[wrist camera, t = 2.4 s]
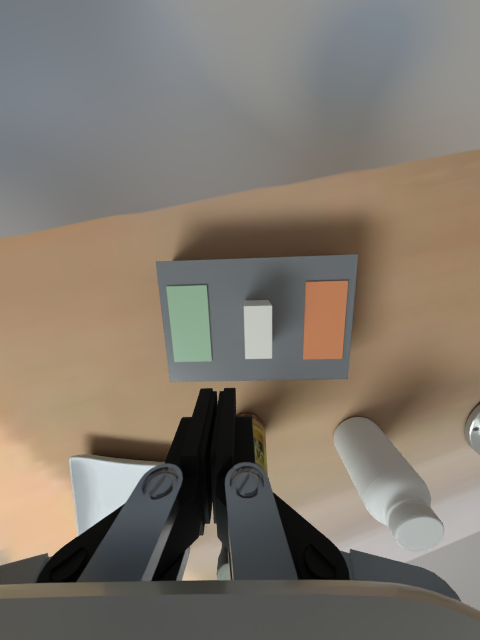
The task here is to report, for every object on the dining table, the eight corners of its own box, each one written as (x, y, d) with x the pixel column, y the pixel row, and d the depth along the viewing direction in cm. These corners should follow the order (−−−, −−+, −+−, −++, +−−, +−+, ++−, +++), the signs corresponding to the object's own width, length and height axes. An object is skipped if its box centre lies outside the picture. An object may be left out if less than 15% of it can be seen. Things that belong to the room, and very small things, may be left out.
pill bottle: (385, 445, 40) (465, 550, 25) (340, 459, 41) (392, 568, 26) (371, 408, 38) (449, 497, 24) (325, 424, 39) (372, 519, 25)
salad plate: (191, 538, 47) (187, 559, 43) (89, 527, 47) (76, 548, 44) (196, 452, 42) (191, 468, 38) (81, 441, 42) (66, 456, 38)
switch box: (338, 256, 32) (359, 254, 26) (331, 360, 36) (348, 379, 30) (171, 262, 33) (155, 261, 27) (181, 363, 37) (169, 382, 31)
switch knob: (268, 299, 28) (272, 305, 24) (268, 346, 29) (272, 358, 25) (243, 300, 28) (243, 306, 24) (245, 346, 29) (245, 359, 26)
